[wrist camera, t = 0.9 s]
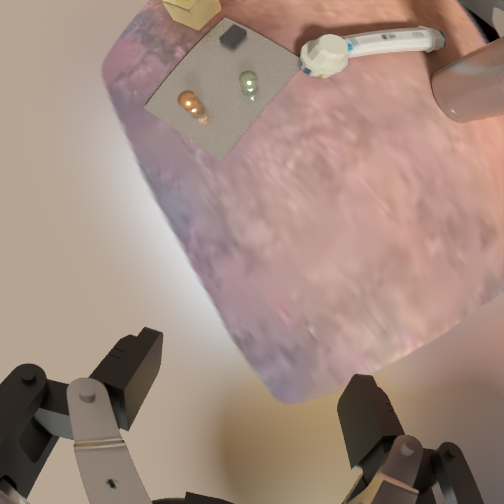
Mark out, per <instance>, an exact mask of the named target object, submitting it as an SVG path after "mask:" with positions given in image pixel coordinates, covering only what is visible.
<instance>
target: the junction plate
mask: <svg viewBox="0 0 504 504" xmlns="http://www.w3.org/2000/svg"><path fill="white" fill-rule="evenodd" d="M301 67H302V64H301V59H300V58H299V57H297V56H296V55H294V54H292V53H291V52H289V51H288V50H286V49H284V48H283V47H281V46H279V45H278V44H276V43H274V42H273V41H271V40H269V39H267V38H266V37H264V36H262V35H260V34H258V33H256V32H254V31H253V30H251V29H249V28H247V27H245V26H243V25H241V24H239V23H237V22H235V21H232V20H230V19H228V18H226V17H224V18H223V19H222V20H221V21H220V22H219V23H218V24H217V25H216V26H215V27H214V28H213V29H212V30H211V31H210V32H209V33H208V34H207V35H206V36H205V37H204V38H203V39H202V40H201V41H200V42H199V43H198V44H197V45H196V46H195V47H194V48H193V49H192V50H191V51H190V52H189V53H188V54H187V55H186V57H185V58H184V59H183V60H182V61H181V62H180V63H179V64H178V66H177V67H176V68H175V69H174V70H173V71H172V73H171V74H170V75H169V76H168V77H167V79H166V80H165V81H164V82H163V84H162V85H161V86H160V87H159V89H158V90H157V91H156V92H155V94H154V95H153V96H152V98H151V99H150V100H149V102H148V103H147V104H146V106H145V107H144V109H146V110H147V111H149V112H150V113H152V114H153V115H155V116H156V117H158V118H159V119H161V120H162V121H164V122H165V123H167V124H168V125H170V126H171V127H173V128H174V129H176V130H177V131H179V132H180V133H182V134H183V135H185V136H186V137H188V138H189V139H191V140H192V141H193V142H195V143H196V144H198V145H199V146H201V147H202V148H203V149H205V150H206V151H208V152H209V153H210V154H212V155H213V156H215V157H216V158H217V159H219V160H220V161H222V162H223V160H224V159H225V158H226V156H227V155H228V154H229V152H230V151H231V150H232V149H233V147H234V146H235V145H236V144H237V142H238V141H239V140H240V138H241V137H242V136H243V135H244V134H245V132H246V131H247V130H248V129H249V127H250V126H251V125H252V124H253V123H254V121H255V120H256V119H257V118H258V116H259V115H260V114H261V113H262V112H263V111H264V109H265V108H266V107H267V106H268V105H269V104H270V102H271V101H272V100H273V99H274V98H275V97H276V96H277V94H278V93H279V92H280V91H281V90H282V89H283V88H284V87H285V85H286V84H287V83H288V82H289V81H290V80H291V79H292V78H293V77H294V76H295V74H296V73H297V72H298V71H299V70H300V69H301Z"/></svg>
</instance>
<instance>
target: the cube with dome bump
mask: <svg viewBox="0 0 504 504" xmlns="http://www.w3.org/2000/svg"><path fill="white" fill-rule="evenodd" d="M161 1H162V3H163V4H164V6H165V7H166V9H167V11H168V12H169V14H170V15H171V17H172V19H173V20H174V21H177V22H179V23H181V24H184V25H186V26H188V27H191V28H193V29H195V30H197V31H199V30H200V29H201V28H202V27H203V26H204V25H205V24H206V23H208V22H209V21H210V20H211V19H212V18H213V17H214V16H215V15H216V14H217V13H218V12H220V11H221V10H222V9H221V5H220V2H219V0H161Z"/></svg>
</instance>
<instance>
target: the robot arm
mask: <svg viewBox="0 0 504 504" xmlns="http://www.w3.org/2000/svg"><path fill="white" fill-rule="evenodd" d="M432 90H433V94H434V97H435V99H436V101H437V103H438V105H439V106H440V108H441V109H442V110H443V112H444V113H445V114H446V115H447V116H448V117H449V118H451V119H452V120H454V121H456V122H459V123H465V122H470V121H475V120H480V119H485V118H491V117H496V116H502V115H504V36H503V37H501V38H499V39H497V40H495V41H493V42H491V43H489V44H487V45H485V46H483V47H481V48H479V49H477V50H475V51H473V52H471V53H469V54H467V55H465V56H463V57H461V58H459V59H457V60H455V61H453V62H451V63H449V64H448V65H446V66H444V67H442V68H440V69H438V70H437V71H435V73H434V74H433V77H432ZM162 343H163V333H162V332H159V331H156V330H153V329H150V328H147V327H144V328H143V329H142V331H141V332H140V333H139V335H138V336H137V337H136V336H133V335H128V336H126V337H124V338H122V339H120V340H119V341H118V342H117V344H116V345H115V346H114V348H112V349H111V351H110V352H109V353H108V355H106V357H105V358H104V359H103V360H102V361H101V363H100V364H99V365H98V367H97V368H96V369H95V370H94V371H93V373H92V374H91V375H90V376H89V377H88V378H79V379H76V380H74V381H73V382H71V383H70V384H65V383H61V382H57V381H52V380H49V379H47V377H46V374H45V372H44V370H43V369H42V368H40V367H39V366H37V365H35V364H22V365H20V366H18V367H16V368H15V369H14V370H13V371H12V372H11V373H10V374H9V375H8V377H7V378H6V379H5V380H4V381H3V382H2V383H1V384H0V504H30V503H29V502H28V501H27V500H26V499H27V497H28V495H29V493H30V491H31V489H32V487H33V485H34V483H35V481H36V479H37V477H38V475H39V473H40V472H41V470H42V468H43V466H44V464H45V462H46V460H47V458H48V457H49V455H50V453H51V451H52V449H53V448H54V446H55V444H56V442H57V441H58V439H59V437H63V438H67V439H71V440H74V441H75V444H74V452H75V456H76V460H77V464H78V468H79V471H80V475H81V478H82V481H83V485H84V488H85V491H86V494H87V497H88V500H89V502H90V504H233V503H231V502H228V501H225V500H223V499H218V498H213V497H208V496H203V495H199V494H194V493H190V492H186V496H185V498H164V499H158V500H153V501H151V499H150V498H149V496H148V494H147V492H146V490H145V488H144V486H143V484H142V481H141V479H140V477H139V475H138V472H137V470H136V468H135V466H134V463H133V461H132V459H131V456H130V454H129V451H128V449H127V446H126V444H125V442H124V440H122V437H121V435H120V432H119V429H120V428H122V429H124V430H126V431H129V429H130V427H131V425H132V423H133V421H134V419H135V417H136V415H137V413H138V411H139V409H140V407H141V405H142V403H143V401H144V399H145V398H146V395H147V394H148V392H149V390H150V388H151V386H152V384H153V382H154V380H155V378H156V376H157V374H158V372H159V368H160V365H161V355H162ZM337 412H338V416H339V420H340V424H341V428H342V432H343V435H344V440H345V444H346V448H347V453H348V457H349V461H350V465H351V469H362V470H363V473H362V474H361V475H360V476H359V477H358V479H357V481H356V482H355V484H354V485H353V487H352V489H351V490H350V492H349V493H348V495H347V496H346V498H345V499H344V501H343V502H342V504H436V501H435V497H434V494H433V491H432V487H434V486H435V485H436V484H437V483H439V485H440V488H441V490H442V494H443V497H444V503H443V504H484V503H483V500H482V498H481V495H480V492H479V490H478V487H477V485H476V482H475V480H474V478H473V475H472V473H471V471H470V469H469V466H468V464H467V462H466V460H465V458H464V456H463V453H462V451H461V449H460V448H459V447H458V446H457V445H455V444H454V443H451V442H444V443H442V444H441V445H440V446H439V447H438V448H437V450H432V449H425V448H423V446H422V445H421V443H420V442H419V440H417V439H416V438H415V437H413V436H410V435H405V433H404V431H403V428H402V426H401V424H400V422H399V420H398V417H397V415H396V413H395V412H394V409H393V407H392V405H391V403H390V400H389V398H388V396H387V395H386V393H385V392H384V391H383V390H382V389H381V388H379V387H377V384H376V382H375V380H374V378H373V376H371V375H361V374H355V375H354V376H353V377H352V378H351V380H350V382H349V384H348V385H347V387H346V389H345V390H344V392H343V394H342V395H341V397H340V399H339V402H338V406H337Z"/></svg>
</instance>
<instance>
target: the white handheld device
mask: <svg viewBox="0 0 504 504" xmlns="http://www.w3.org/2000/svg"><path fill="white" fill-rule="evenodd" d="M444 47H446V38H445V37H444V35H443V33H442V32H441V31H440V30H437V29H435V28H427V27H424V26H422V25H419V26H418V27H414V28H399V29H388V30H379V31H371V32H365V33H358V34H352V35H347V36H342V37H339V36H337V35H333V34H328V35H323V36H320V37H319V38H318V39H315V40H310V41H308V42H307V43H306V44H305V45H304V46H303V47H302V48H301V53H300V59H301V64H302V67H301V68H302V70H303V72H305V73H306V74H308V75H310V76H311V77H313V76H316V77H322V78H326V77H330V76H332V75H333V74H335V73H339V72H340V71H341V70H342V69H343V68H344V67H345V66H346V65H347V64H348V58H350V57H357V56H363V55H371V54H379V53H389V52H402V51H423V50H424V51H426V52H431V51H433V50H441V49H443V48H444Z"/></svg>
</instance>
